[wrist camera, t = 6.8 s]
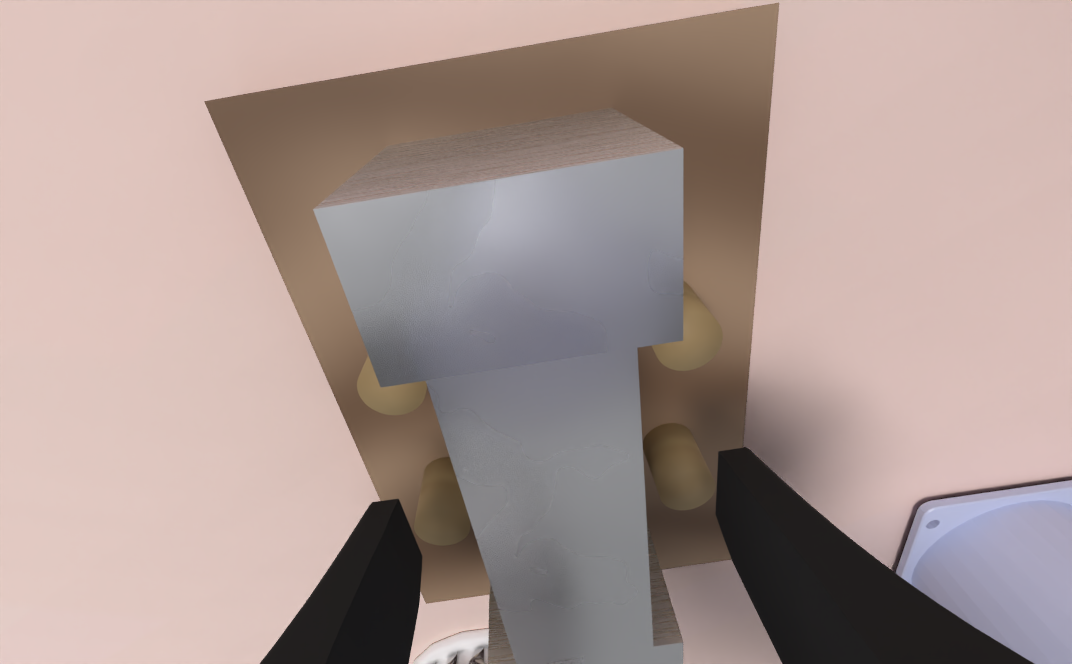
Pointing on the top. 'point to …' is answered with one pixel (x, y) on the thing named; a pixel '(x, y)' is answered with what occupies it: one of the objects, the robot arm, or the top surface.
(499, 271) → the grey i-beam block
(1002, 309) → the top surface
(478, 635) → the decorative candle
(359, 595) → the robot arm
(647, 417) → the peg board
